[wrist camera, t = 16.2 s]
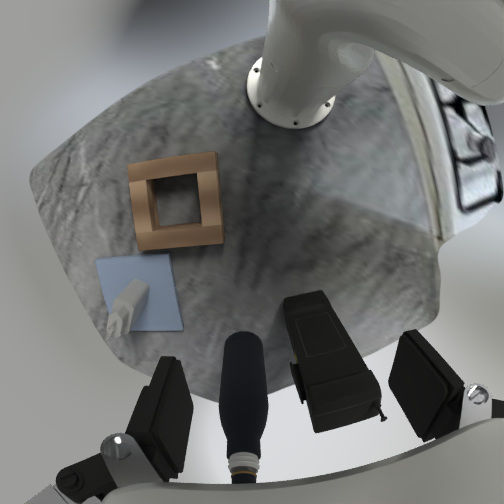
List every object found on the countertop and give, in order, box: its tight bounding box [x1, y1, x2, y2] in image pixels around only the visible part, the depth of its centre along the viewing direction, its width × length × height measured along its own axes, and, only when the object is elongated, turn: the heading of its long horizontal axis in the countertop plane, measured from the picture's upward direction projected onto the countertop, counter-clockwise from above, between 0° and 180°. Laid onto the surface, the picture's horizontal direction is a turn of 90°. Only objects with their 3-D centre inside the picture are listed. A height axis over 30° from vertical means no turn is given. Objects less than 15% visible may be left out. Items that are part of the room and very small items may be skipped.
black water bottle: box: [219, 332, 268, 484], centre depth 30 cm, size 6×6×30 cm
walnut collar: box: [127, 151, 225, 251], centre depth 36 cm, size 12×12×4 cm
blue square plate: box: [95, 252, 184, 331], centre depth 41 cm, size 13×13×1 cm
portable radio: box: [284, 290, 387, 433], centre depth 31 cm, size 8×6×25 cm
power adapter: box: [106, 279, 149, 342], centre depth 35 cm, size 3×5×12 cm, turn 157°
